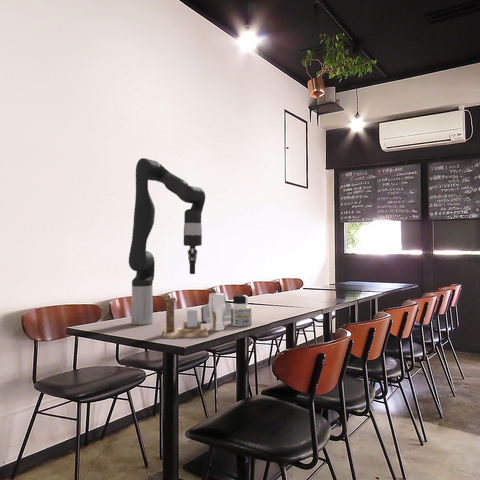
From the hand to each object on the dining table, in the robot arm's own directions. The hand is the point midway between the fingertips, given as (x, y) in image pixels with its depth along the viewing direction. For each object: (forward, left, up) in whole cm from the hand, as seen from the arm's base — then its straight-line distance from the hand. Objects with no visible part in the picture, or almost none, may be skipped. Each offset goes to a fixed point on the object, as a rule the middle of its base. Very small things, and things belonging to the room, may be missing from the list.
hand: (192, 273), depth 172 cm
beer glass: (+10, 0, -24) cm, 26 cm away
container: (+21, +10, -24) cm, 34 cm away
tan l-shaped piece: (-3, -6, -24) cm, 24 cm away
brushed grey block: (0, -6, -23) cm, 23 cm away
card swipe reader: (+12, +23, -24) cm, 35 cm away
